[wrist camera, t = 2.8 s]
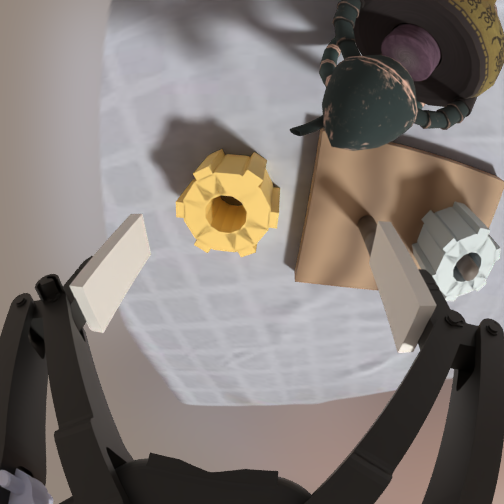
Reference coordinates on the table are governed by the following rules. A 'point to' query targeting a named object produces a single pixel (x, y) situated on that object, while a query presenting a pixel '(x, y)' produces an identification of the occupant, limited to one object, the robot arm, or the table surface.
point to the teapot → (405, 67)
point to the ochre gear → (221, 213)
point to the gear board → (381, 207)
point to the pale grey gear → (455, 249)
